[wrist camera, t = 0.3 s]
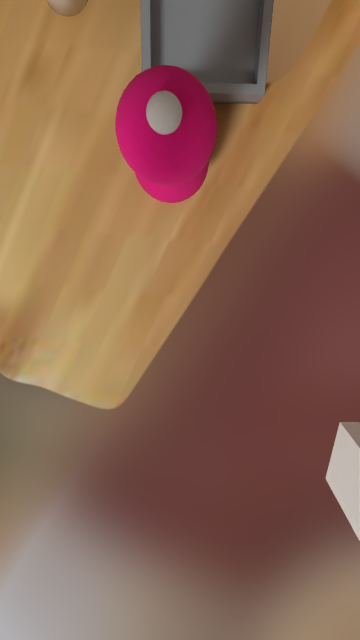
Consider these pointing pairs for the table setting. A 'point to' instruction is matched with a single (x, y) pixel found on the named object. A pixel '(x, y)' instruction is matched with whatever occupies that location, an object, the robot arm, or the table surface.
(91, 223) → the table surface
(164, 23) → the tray
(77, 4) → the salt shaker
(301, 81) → the table surface
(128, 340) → the table surface
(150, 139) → the pepper mill
